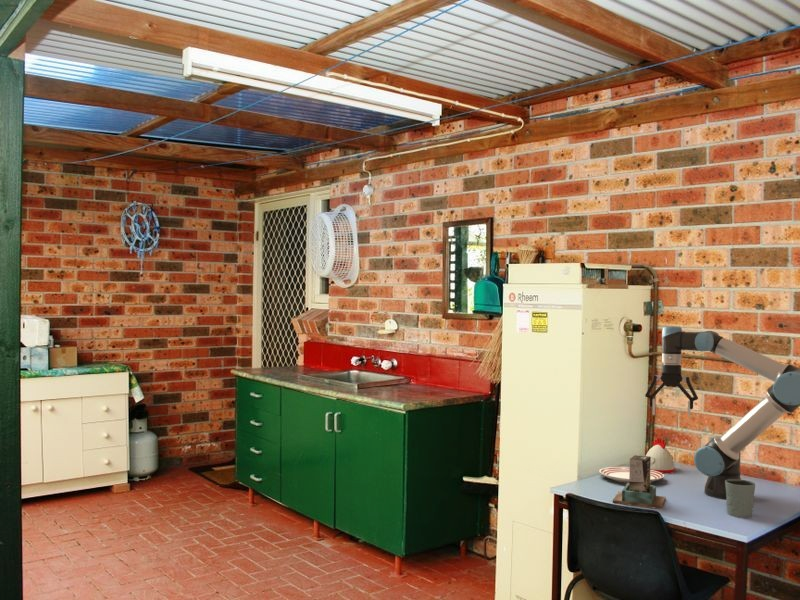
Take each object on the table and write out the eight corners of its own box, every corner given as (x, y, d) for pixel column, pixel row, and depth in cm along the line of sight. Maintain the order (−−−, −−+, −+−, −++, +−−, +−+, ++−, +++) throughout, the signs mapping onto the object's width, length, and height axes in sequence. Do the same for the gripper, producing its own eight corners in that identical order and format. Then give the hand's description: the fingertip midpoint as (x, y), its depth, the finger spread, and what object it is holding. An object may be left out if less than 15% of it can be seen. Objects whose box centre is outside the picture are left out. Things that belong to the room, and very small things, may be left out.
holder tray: (665, 499, 294) (665, 486, 294) (661, 508, 280) (661, 495, 280) (618, 493, 301) (618, 481, 301) (612, 502, 288) (612, 489, 288)
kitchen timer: (658, 474, 335) (658, 441, 335) (636, 468, 348) (637, 436, 348) (681, 472, 341) (681, 439, 341) (659, 466, 354) (659, 434, 354)
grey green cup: (722, 515, 272) (723, 482, 272) (727, 509, 280) (727, 477, 280) (753, 520, 266) (753, 486, 266) (756, 513, 275) (756, 481, 275)
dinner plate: (601, 470, 344) (601, 463, 344) (663, 475, 335) (663, 468, 335) (597, 484, 318) (597, 476, 318) (664, 489, 309) (664, 481, 309)
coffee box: (645, 502, 285) (645, 460, 285) (628, 499, 288) (629, 458, 288) (650, 497, 293) (651, 456, 293) (634, 494, 296) (634, 454, 296)
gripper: (638, 363, 305) (638, 414, 305) (703, 366, 294) (703, 419, 294) (641, 362, 311) (640, 412, 311) (705, 364, 301) (704, 416, 301)
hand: (671, 415), depth 303 cm, fingers open, 13 cm apart
